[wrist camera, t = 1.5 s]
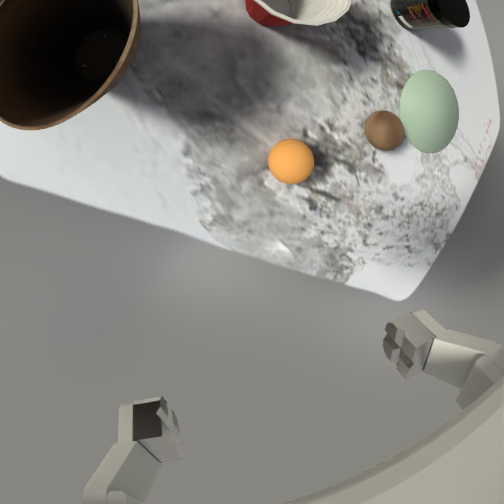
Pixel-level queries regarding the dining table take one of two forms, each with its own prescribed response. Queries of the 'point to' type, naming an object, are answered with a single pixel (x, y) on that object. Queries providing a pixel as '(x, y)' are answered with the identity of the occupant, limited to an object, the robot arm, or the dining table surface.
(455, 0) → the supplement container
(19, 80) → the plant pot
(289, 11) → the plastic cup
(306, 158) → the orange ball
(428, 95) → the sage mark
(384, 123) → the walnut ball
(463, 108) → the dining table surface
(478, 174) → the dining table surface
